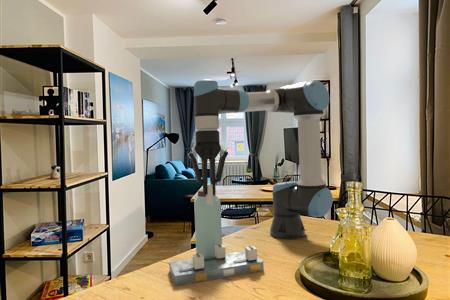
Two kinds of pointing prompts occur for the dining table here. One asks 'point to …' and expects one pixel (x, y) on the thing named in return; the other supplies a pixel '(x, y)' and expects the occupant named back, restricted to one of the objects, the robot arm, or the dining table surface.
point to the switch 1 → (198, 261)
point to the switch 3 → (251, 253)
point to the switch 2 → (220, 251)
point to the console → (214, 268)
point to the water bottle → (207, 224)
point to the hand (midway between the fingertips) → (209, 204)
